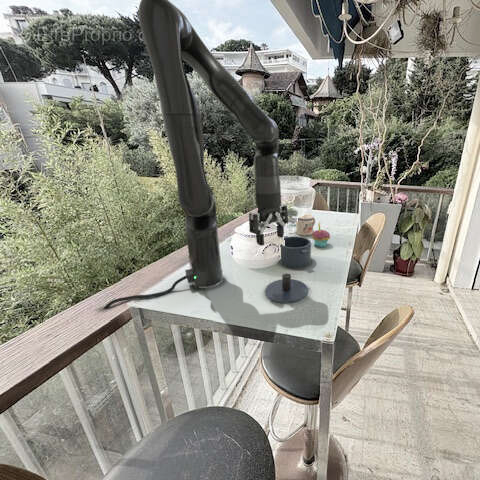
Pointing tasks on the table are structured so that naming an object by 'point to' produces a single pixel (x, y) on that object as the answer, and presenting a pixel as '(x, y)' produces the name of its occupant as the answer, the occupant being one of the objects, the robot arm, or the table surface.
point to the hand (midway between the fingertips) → (270, 240)
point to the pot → (295, 252)
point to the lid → (286, 290)
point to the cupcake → (320, 237)
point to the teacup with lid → (305, 225)
